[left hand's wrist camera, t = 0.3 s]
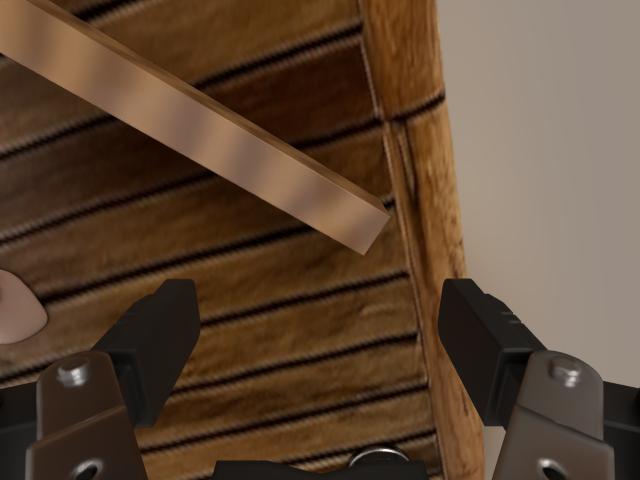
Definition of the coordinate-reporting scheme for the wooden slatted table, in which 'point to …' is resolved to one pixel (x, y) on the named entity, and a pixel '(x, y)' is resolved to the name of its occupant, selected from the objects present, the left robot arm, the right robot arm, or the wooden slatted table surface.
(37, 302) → the anatomical model
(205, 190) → the wooden slatted table surface
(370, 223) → the beam
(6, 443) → the left robot arm
